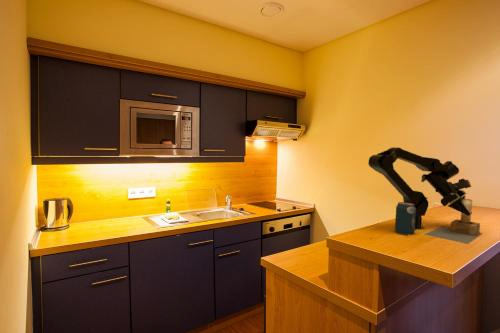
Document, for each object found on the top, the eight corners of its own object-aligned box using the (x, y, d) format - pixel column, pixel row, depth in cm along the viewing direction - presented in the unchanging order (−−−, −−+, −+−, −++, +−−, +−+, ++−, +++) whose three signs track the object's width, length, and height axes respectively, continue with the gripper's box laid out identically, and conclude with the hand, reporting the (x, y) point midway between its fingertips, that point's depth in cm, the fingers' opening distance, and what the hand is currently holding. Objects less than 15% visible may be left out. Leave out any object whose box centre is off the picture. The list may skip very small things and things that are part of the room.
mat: (468, 244, 101) (468, 243, 101) (424, 235, 112) (424, 234, 112) (482, 234, 116) (482, 233, 116) (442, 226, 126) (442, 225, 126)
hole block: (474, 236, 111) (475, 226, 111) (450, 231, 117) (451, 221, 117) (479, 232, 117) (480, 223, 116) (456, 228, 123) (456, 219, 122)
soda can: (417, 236, 110) (419, 205, 110) (397, 234, 112) (399, 204, 111) (410, 231, 117) (412, 202, 117) (392, 230, 119) (394, 201, 118)
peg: (465, 230, 115) (467, 200, 114) (457, 228, 118) (460, 198, 117) (471, 230, 116) (474, 200, 115) (464, 228, 119) (467, 198, 118)
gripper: (452, 172, 112) (486, 205, 105) (461, 171, 125) (492, 200, 118) (428, 190, 118) (458, 222, 111) (439, 187, 131) (467, 215, 124)
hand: (470, 214), depth 116 cm, fingers closed on peg, 3 cm apart
